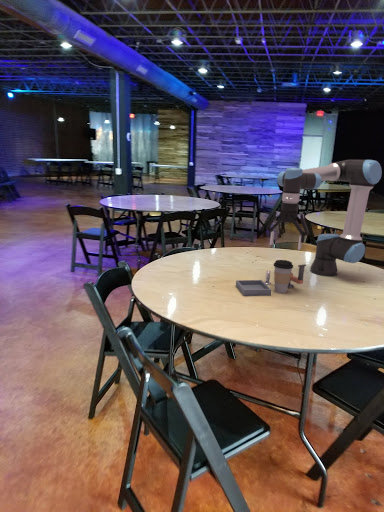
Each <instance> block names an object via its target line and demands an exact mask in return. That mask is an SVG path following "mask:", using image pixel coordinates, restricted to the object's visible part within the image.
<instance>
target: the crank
mask: <svg viewBox="0 0 384 512" xmlns="http://www.w3.org/2000/svg"><path fill="white" fill-rule="evenodd" d="M306 266H307V264H304V263H303V264H300V265H299V264H298V267H297V268H298V276H295V275H294V273H293V272H292V271H291V277H290V280H291V282H294V283H296V284H298V285H303V284H304V276H305V275H304V274H305V267H306Z"/></svg>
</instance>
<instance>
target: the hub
mask: <svg viewBox="0 0 384 512" xmlns="http://www.w3.org/2000/svg"><path fill="white" fill-rule="evenodd" d="M291 282H292V281H291V280H290V281H289V284H288V288H287V289H293V288H294V287H295V284H293V283H291Z"/></svg>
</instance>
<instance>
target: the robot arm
mask: <svg viewBox="0 0 384 512" xmlns="http://www.w3.org/2000/svg"><path fill="white" fill-rule="evenodd" d="M382 172H383V171H382V166H381V164H380V163H379V161H377V160H373V159H345V160H341V161H336V162H332V163H331V162H330V163H329V164H328V165H325V166H317V167H313V168H305V169H303V168H300V167H299V168H298V167H297V168H296V167H288V168H286V169H285V171H281V172H279V173H278V175H277V178H276V179H277V180H276V181H277V184H278V185H279V186H280V187H283V188H282V189H283V191H282V198H281V200H282V202H281V207H280V211H278V210H274V211H273V216H272V217H271V219H270V220H269V221H268V223H267V226H266V227H265V230H266V231H268V238H270V240H269V246H273V245H274V237H275V231H274V230H275V229H276V228H277V227H278V226H279V225H280V224H282V223H283V222H284V223H289V224H291V223H292V224H293V225H294V227H295V228H296V230H297V231H298V232H299V234H300V235H299V239H298V245H297V250H298V251H299V250H301V249H302V243H305V236H308V235H310V231H309V228H308V226H307V222H306V220H305V219H306V218H305V214H304V213H302V214H300V213H299V214H298V211H299V202H300V197H301V196H300V195H301V190H311V191H312V190H316V189H319V188H320V187H321V185H322V182H325V181H331V182H335V181H337V182H338V181H340V182H347V183H349V187H350V189H351V190H350V194H349V195H350V196H349V199H348V204H347V210H346V215H345V219H344V220H345V221H344V225H343V230H342V233H341V234H337V233H322V234H319V235H318V237H317V240H316V245H315V246H316V248H315V254H314V260H313V261H312V262H311V265H310V268H309V272H311V273H313V274H315V275H318V276H323V275H324V277H334V276H333V275H335V276H337V275H338V267H337V266H338V265H337V260H340V261H341V262H342V261H343V262H345V263H349V264H355V263H358V262H359V261H361V259H362V258H363V257H364V256H365V252H366V246H365V244H364V243H363V242H362V241H363V238H362V237H361V232H362V227H363V224H364V219H365V213H366V209H367V205H368V199H369V194H370V191H371V190H372V189H373V188H374V186H375V185H376V184H377V183H379V181H380V180H381V178H382V174H383V173H382ZM278 217H279V219H278V221H276V222H275V220H276V219H277V218H278ZM297 218H298V219H300V223H301V225H302V227H301V225H300V224H299V221H298V220H297ZM274 222H275V223H274ZM273 223H274V225H273ZM336 274H337V275H336Z"/></svg>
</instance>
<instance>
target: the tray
mask: <svg viewBox="0 0 384 512" xmlns="http://www.w3.org/2000/svg"><path fill="white" fill-rule="evenodd" d="M264 282H265V281H264V280H262V279H248V280H247V279H246V280H245V279H242V280H241V279H240V280H239V279H238V280H237V279H236V280H235V287H236V288H237V290H238V291H239V292H240V294H241V295H242V296H243V297H256V296H257V297H260V296H261V297H262V296H263V297H265V296H266V297H267V296H272V291H273V290H272V288H271V287H269V286H268V285H266V284H265V283H264Z"/></svg>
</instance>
